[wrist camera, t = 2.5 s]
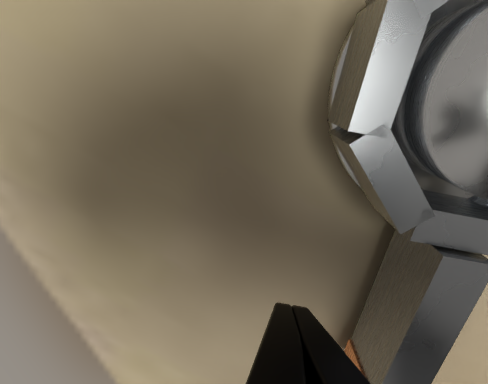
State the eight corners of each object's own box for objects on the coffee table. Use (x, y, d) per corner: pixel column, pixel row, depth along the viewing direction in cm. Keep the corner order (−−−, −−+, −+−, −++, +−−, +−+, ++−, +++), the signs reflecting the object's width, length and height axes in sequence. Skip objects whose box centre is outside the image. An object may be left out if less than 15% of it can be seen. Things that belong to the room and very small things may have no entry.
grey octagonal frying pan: (449, 379, 16) (496, 451, 12) (263, 348, 15) (266, 414, 12) (691, -34, 9) (898, -90, 6) (389, -103, 9) (457, -196, 6)
